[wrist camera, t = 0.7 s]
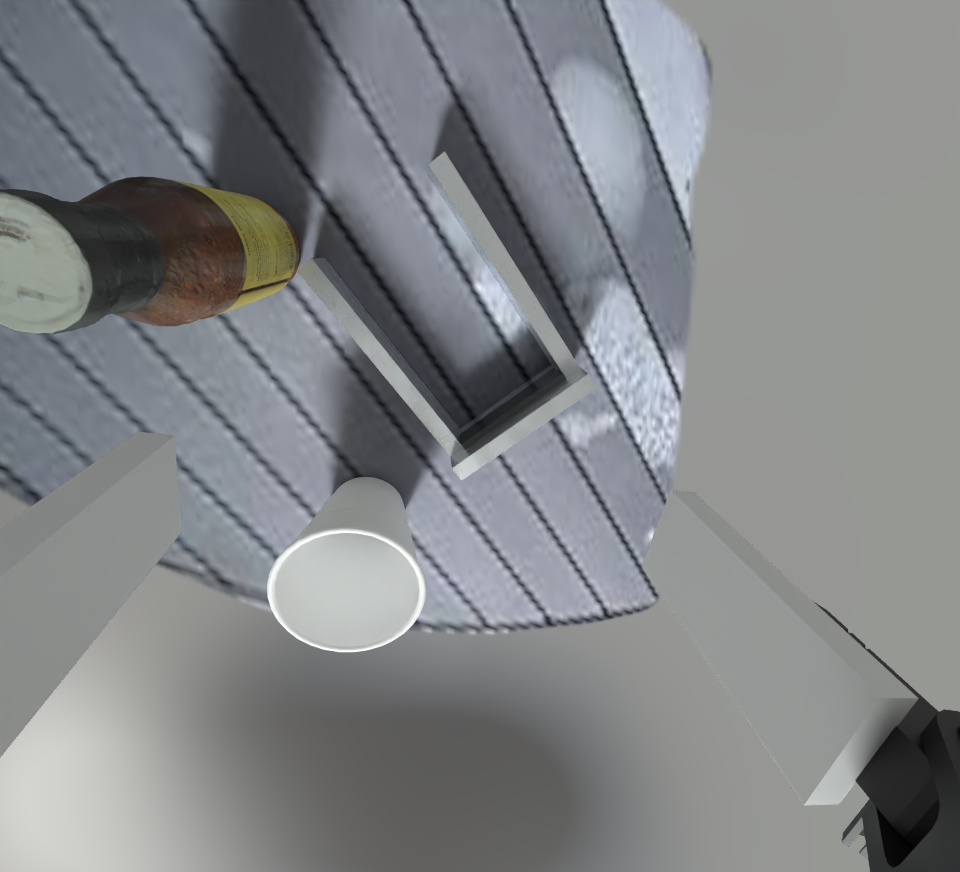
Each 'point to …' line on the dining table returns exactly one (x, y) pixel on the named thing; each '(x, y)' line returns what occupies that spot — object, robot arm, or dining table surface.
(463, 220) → the frame
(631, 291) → the dining table surface
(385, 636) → the cup
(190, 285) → the sauce bottle
